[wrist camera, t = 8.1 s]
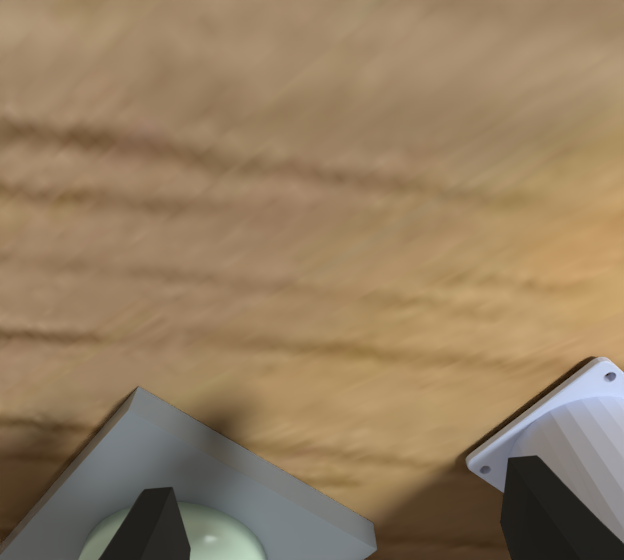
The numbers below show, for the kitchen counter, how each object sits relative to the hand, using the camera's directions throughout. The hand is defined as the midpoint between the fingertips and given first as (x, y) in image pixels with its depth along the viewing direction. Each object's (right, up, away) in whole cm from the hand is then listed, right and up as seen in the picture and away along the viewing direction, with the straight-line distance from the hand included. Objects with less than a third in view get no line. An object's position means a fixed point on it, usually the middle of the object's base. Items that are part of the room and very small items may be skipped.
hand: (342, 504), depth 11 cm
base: (-7, -8, +16) cm, 19 cm away
